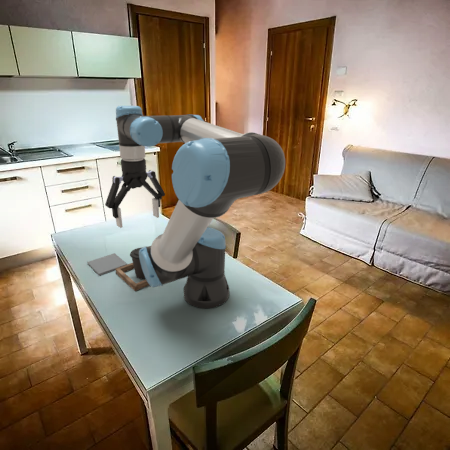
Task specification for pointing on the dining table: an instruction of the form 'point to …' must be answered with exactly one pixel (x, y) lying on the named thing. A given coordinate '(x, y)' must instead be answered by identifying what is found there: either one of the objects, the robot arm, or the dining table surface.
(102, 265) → the pad
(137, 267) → the coffee cup
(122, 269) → the wooden square frame
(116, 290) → the dining table surface
